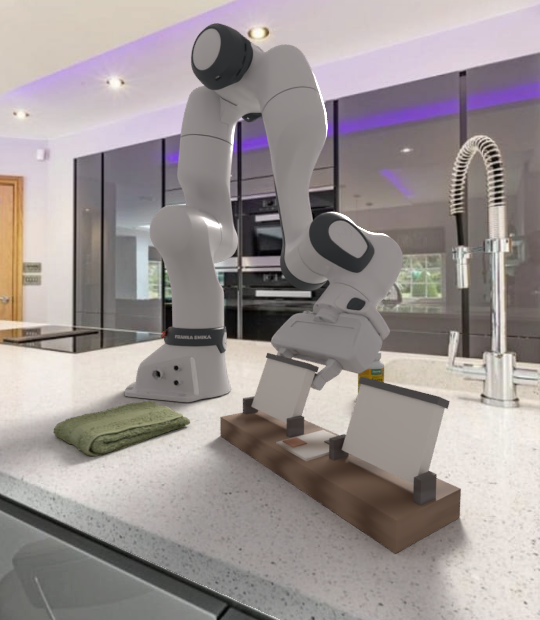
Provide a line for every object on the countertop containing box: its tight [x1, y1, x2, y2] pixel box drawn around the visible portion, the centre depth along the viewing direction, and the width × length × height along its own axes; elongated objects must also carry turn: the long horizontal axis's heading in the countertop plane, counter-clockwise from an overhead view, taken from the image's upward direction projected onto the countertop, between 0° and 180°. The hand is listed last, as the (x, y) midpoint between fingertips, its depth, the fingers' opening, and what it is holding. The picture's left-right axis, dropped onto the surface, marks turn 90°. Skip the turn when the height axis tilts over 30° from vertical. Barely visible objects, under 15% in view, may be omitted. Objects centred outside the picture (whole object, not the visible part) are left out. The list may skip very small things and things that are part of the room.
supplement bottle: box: [357, 350, 385, 393], centre depth 85 cm, size 5×5×10 cm
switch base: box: [219, 395, 462, 554], centre depth 52 cm, size 33×10×5 cm, turn 34°
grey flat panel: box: [342, 377, 450, 484], centre depth 44 cm, size 10×2×9 cm, turn 34°
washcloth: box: [52, 400, 191, 457], centre depth 64 cm, size 13×18×3 cm
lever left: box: [251, 352, 319, 424], centre depth 61 cm, size 10×2×9 cm, turn 34°
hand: (292, 380), depth 62 cm, fingers open, 8 cm apart
